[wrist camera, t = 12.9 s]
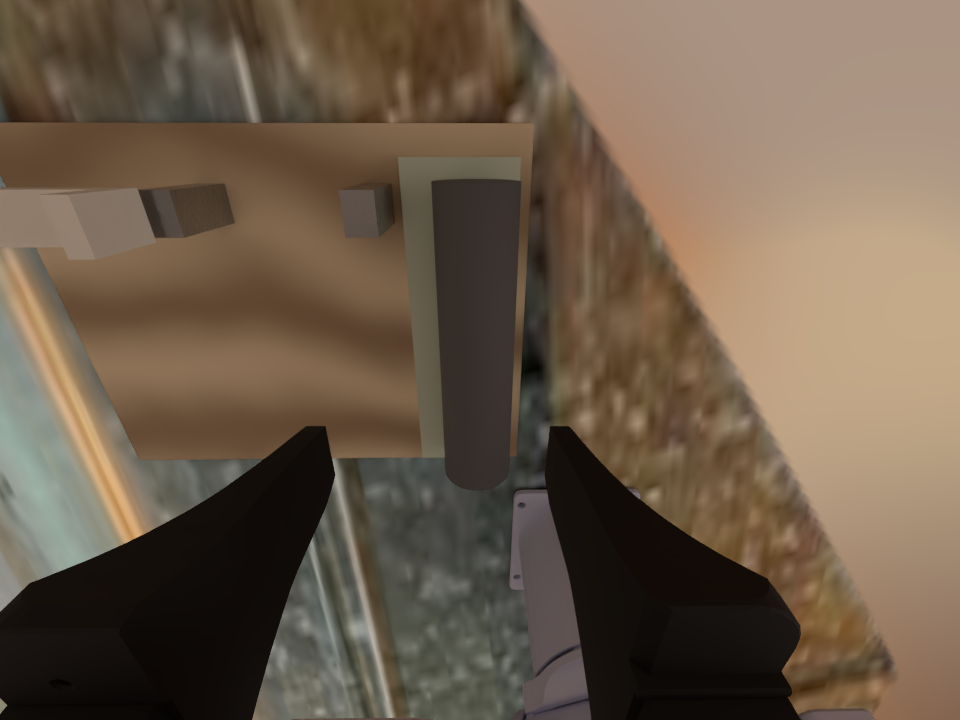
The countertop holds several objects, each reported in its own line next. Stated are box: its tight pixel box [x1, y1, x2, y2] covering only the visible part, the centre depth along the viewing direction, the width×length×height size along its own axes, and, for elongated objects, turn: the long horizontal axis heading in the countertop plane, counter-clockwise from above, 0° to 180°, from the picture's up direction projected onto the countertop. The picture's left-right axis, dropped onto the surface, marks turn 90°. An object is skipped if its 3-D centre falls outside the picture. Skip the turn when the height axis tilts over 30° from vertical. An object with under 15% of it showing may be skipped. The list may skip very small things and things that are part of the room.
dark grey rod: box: [431, 179, 521, 490], centre depth 19 cm, size 14×3×3 cm, turn 0°
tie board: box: [0, 123, 534, 460], centre depth 19 cm, size 17×22×4 cm
